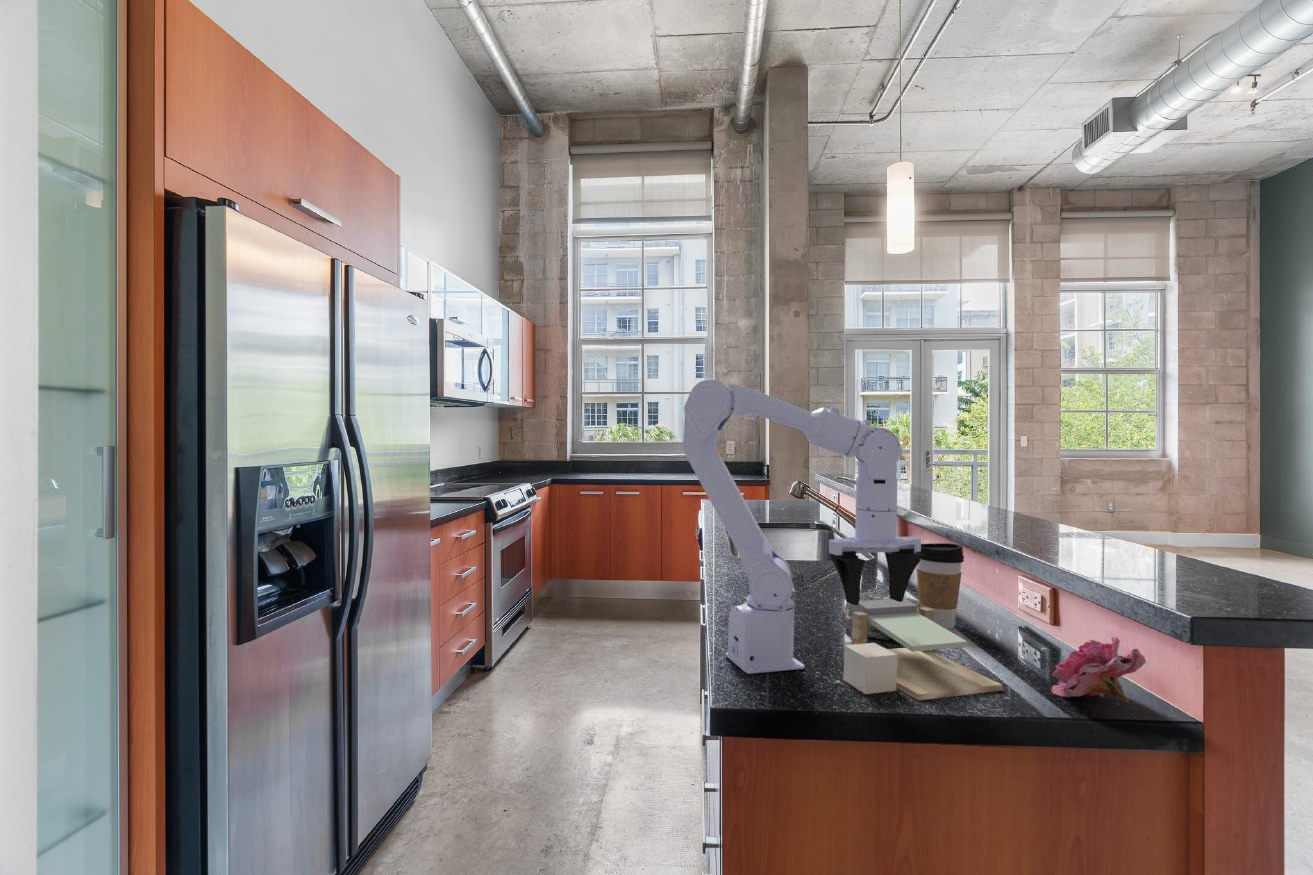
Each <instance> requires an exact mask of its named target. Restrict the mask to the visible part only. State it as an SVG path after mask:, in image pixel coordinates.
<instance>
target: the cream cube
mask: <svg viewBox="0 0 1313 875" xmlns="http://www.w3.org/2000/svg"><path fill="white" fill-rule="evenodd" d="M843 646H844V647H843V678H842V679H843V681H844V682H845V683H848V684H849V685H851V686H852V687H853V688H855V689H857V690H858V691H859V692H861V693H863V694H864V695H869V694H878V693H887V692H895V691H897V688H896V685H897V654H895V653H893V652H891V651H889V650H887V649H888V648H886V647H884V646H881V645H880V644H877V643H875V642H867V643H866V644H854V645H851V644H844V645H843Z"/></svg>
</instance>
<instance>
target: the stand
mask: <svg viewBox="0 0 1313 875" xmlns="http://www.w3.org/2000/svg"><path fill="white" fill-rule="evenodd" d="M919 614H921V615H923V616H924V617H926V618H928V619H929V620H931V621H933V622H934V610H933V609H930V608H928V607H925V608H919ZM867 621H868V615H867V614H865V613H863V612H852V634H851V644H850V645H854V644H866V643H868V637H867ZM886 649H887V650H889V651H891V652H893V653H895V654H897V685H896V689H898V690H900V691H901V692H903V693H905V695H906V694H907V695H908V696H910V697H911V698H913V699H915V700H916V701H924V700H925V701H926V700H933V699H942V698H943V699H944V698H949V697H951V698H952V697H957V696H968V695H974V694H982V693H992V692H1000V691H1001V692H1002V691H1003V684H1001V683H1000V682H998V681H995V680H993V679H991V678H989V677H986V676H985V675H982V674H981V673H978V672H976V671H974V670H972V669H971V668H967V667H965V666H963V665H962V664H959V663H957V662H954V661H953V660H951V659H948V658H946V657H944V656H942V655H940V654H938V653H936V652H934V650H926V651H915V652H912V651H910V650H909V649H907V648H906V647H901V648H899V647H898V648H897V647H896V648H886Z"/></svg>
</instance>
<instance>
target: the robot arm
mask: <svg viewBox="0 0 1313 875" xmlns="http://www.w3.org/2000/svg"><path fill="white" fill-rule="evenodd" d="M727 386H728V387H727ZM727 386H726V384H724V383H723V382H722V381H720V380H717V379H713V378H707V379H704V380H701V381H699V382H698V383H696V384H695V385H694V386H693V388H691V391H690V393H689V395H688V397H687V399H686V401H685V404H684V406H683V411H684V418H683V419H684V423H683V437H682V450H683V454H684V455H685V457H686V459H687V461H688V462H689V464H690V466H691V468H692V469H693V471H694V474H695V475H696V477H697V479H698V481H699V483H700V485H701V486H702V488H703V490H704V492H705V494H706V496H707V498H708V499H709V501H710V503H711V505H712V506H713V508H714V510H715V512H716V514H717V516H718V518H719V519H720V521H721V524H722V525H723V527H724V529H725V531H726V532H727V534H728V536H729V538H730V541H732V543H733V545H734V547H735V549H736V551H737V553H738V555H739V556H738V557H739V559H740V562H741V564H742V567H743V570H744V571H745V573H746V575H747V579H748V589H749V590H748V591H749V593H750V594H749V595H747V596H746V599H745V601H746V602H744V603H742V604H740V605H734V606H733V607H731V608H730V611H729V615H728V625H727V626H728V628H727V629H728V631H727V632H728V633H727V652H725V656H726V657H727V659H729V660H730V661H731V662H732V663H734V664H735V665H736V666H737V667H738V668H740V669H741V670H742V671H743V672H744V673H746V674H747V675H753V674H760V673H761V674H762V673H773V672H781V671H782V672H783V671H793V670H803V669H805V666H806V665H805V664H804V663H802V662H801V661H799V660H798V659H796V658H795V657H794V639H795V638H794V637H795V636H794V635H795V633H794V632H795V606H796V605H795V604H796V603H795V601H794V599H792V598H791V597H792V595H793V592H794V584H793V580H792V578H793V577H792V569H791V566H790V565H789V562H787V561H786V560H785V559H784V558H783V557H782V556H780V555H779V554H777V553H776V551H775V550H774V548H773V546H772V545H771V542H769V540H768V539H767V537H766V536H765V535H764V533H763V531H762V528H761V527H760V526H759V524H758V522H757V520H756V518H755V517H754V514H753V513H752V511H751V509H750V507H749V505H748V504H747V502H746V500H745V498H744V496H743V494H742V493H741V491H740V488H739V487H738V485H737V483H736V482H735V480H734V479H733V477H732V475H731V473H730V471H729V469H728V466H727V465H726V464H725V462H724V460H723V458H722V456H721V455H720V452H719V450H718V449H717V445H718V442H719V438H720V436H721V433H722V429H723V427H724V426H725V425H726V423H727V422H728V421H729V420H730V418H731V417H732V415H734V416H735V417H737V418H739V417H744V416H745V417H747V416H753V415H754V416H758V417H760V418H764V419H767V420H770V421H772V422H776V423H779V424H782V425H785V426H788V427H790V428H793V429H795V430H796V429H797V430H799V431H802V432H803V433H804V435H805V437H806V440H807V441H808V443H809V444H811V445H814V446H817V447H819V448H822V449H824V450H827V451H830V452H833V453H835V454H838V455H841V456H844V457H847V458H849V459H850V458H852V457H855V458H856V460H857V476H856V478H855V529H854V531H855V533H854V535H855V536H853V537H846V538H845V537H844V538H838V539H835V538H834V539H829V540H828V553H829V554H830V559H831V561H832V563H833V564H834V566H835V568H836V570H837V573H838V575H839V578H840V581H841V584H842V588H843V592H844V595H845V596H844V597H845V601H846V603H847V602H848V603H850V604H852V605H858V604H859V599H860V594H861V580H862V575H863V572H864V570H863V569H864V567H865V563H866V560H865V559H862V558H859V556H858V555H857V554H871V553H873V554H874V553H884V555H885V559H886V565H887V571H888V592H889V598H890V599H893V600H895V601H898V602H903V598H905V596H906V595H905V594H906V591H907V588H908V584H909V582H910V579H911V577H912V575H913V573H914V571H915V569H917V567H918V563H919V562H920V554H917V553H915V552H919V551H921V544H922V539H921V537H920V538H919V537H914V536H897V529H898V528H897V525H898V524H897V521H898V520H897V517H898V478H897V472H898V468H897V462H898V461H899V460H900V458H901V456H902V454H903V447H902V446H901V442H900V440H899V437H898V436H897V435H896V434H895V432H893V431H892V430H890V429H888V428H883V427H877V426H873V427H871V425H872V421H871V420H869V419H863V420H860V419H856V418H854V417H851V416H848V415H846V414H843V413H840V412H841V409H840V408H839V407H836V406H831V407H830V409H829V408H827V407H824V406H823V407H820V408H817V409H815V410H814V411H809V410H806V409H804V408H801V407H799V406H796V405H794V404H792V403H789V402H786V401H784V400H781V399H779V398H776V397H773V396H772V395H768V394H767V393H764V392H761V391H759V390H756V389H753V388H751V387H746V386H741V385H739V384H733V383H728V382H727ZM729 388H730V389H729Z"/></svg>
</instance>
